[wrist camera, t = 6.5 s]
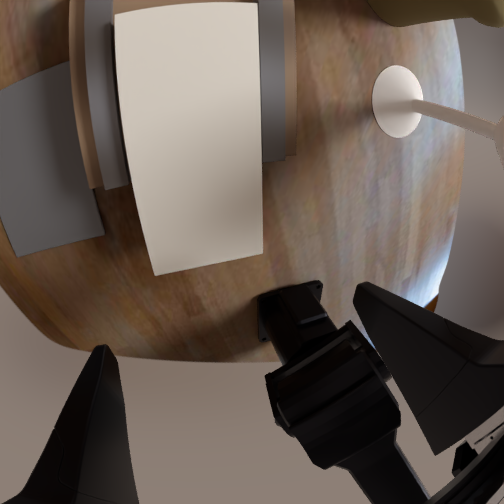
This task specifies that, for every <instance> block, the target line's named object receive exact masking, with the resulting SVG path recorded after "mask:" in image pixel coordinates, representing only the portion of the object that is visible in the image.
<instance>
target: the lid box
mask: <svg viewBox="0 0 504 504" xmlns="http://www.w3.org/2000/svg"><path fill="white" fill-rule="evenodd" d="M207 2H241V3H257V8H258V35H259V67H260V105H261V150H262V162H263V163H264V162H274V161H284V160H285V156H292V155H296V126H297V77H296V32H295V8H294V0H70V6H69V57H70V73H71V85H72V95H73V103H74V111H75V118H76V124H77V131H78V136H79V142H80V147H81V152H82V157H83V162H84V167H85V171H86V175H87V180H88V184H89V188H90V189H93V188H97V187H101V186H104V187H105V190H108V189H113V188H117V187H121V186H125V185H129V182H130V180H131V174H130V169H129V164H128V158H127V152H126V146H125V140H124V133H123V126H122V118H121V110H120V102H119V92H118V81H117V69H116V52H115V15H116V14H120V13H125V12H130V11H135V10H140V9H146V8H153V7H160V6H168V5H177V4H189V3H207Z"/></svg>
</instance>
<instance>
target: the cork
mask: <svg viewBox="0 0 504 504" xmlns="http://www.w3.org/2000/svg"><path fill="white" fill-rule="evenodd" d="M367 1H368V3H369V4H370V6H371V7H372V9H373V10H374V12H375V13H376V14H377V15H378V16H379V17H380V18H381V19H382V20H384V21H385V22H387V23H388V24H390V25H393V26H396V27H405V26H410V25H415V24H421V23H426V22H433V21H440V20H448V19H458V18H470V17H472V18H474V19H475V20H477V21H478V22H479V23H481V24H484V25H487V26H491V27H498V28H499V27H504V0H367Z"/></svg>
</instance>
